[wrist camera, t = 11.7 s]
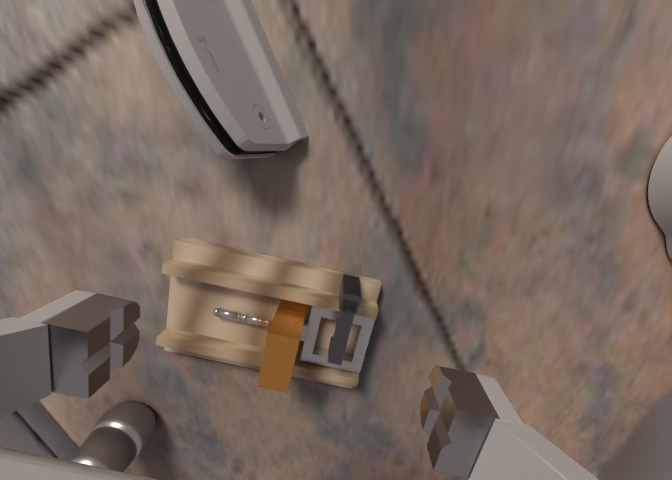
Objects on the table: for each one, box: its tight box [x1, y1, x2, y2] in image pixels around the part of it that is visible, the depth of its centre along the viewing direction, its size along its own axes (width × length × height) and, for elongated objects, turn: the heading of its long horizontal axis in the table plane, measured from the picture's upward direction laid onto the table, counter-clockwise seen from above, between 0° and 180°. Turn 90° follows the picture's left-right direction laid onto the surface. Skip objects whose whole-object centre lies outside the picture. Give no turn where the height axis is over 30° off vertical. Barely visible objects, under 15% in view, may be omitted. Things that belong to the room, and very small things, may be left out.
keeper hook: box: [328, 274, 361, 365], centre depth 33 cm, size 2×8×5 cm, turn 168°
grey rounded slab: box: [133, 0, 308, 160], centre depth 27 cm, size 17×5×10 cm, turn 23°
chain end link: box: [213, 299, 375, 393], centre depth 33 cm, size 18×7×7 cm, turn 78°
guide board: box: [156, 237, 381, 389], centre depth 36 cm, size 23×14×4 cm, turn 77°
